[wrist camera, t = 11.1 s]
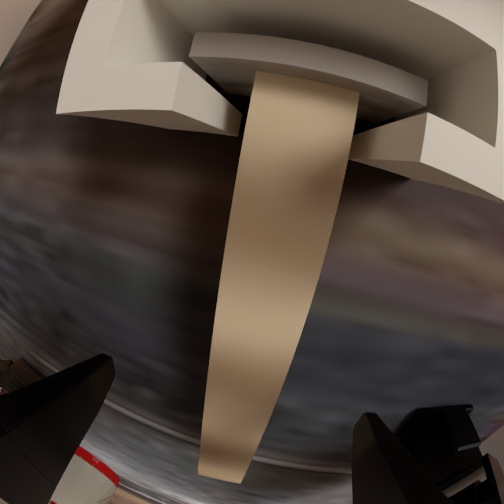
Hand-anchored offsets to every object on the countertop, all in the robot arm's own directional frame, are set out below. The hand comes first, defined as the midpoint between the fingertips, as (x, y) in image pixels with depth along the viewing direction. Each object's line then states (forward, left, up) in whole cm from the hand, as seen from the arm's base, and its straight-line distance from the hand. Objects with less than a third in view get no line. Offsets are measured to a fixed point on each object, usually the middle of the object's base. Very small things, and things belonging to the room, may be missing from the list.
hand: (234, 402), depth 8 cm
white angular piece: (+13, 0, -6) cm, 14 cm away
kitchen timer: (-36, +21, -6) cm, 42 cm away
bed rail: (-1, 0, -6) cm, 6 cm away
